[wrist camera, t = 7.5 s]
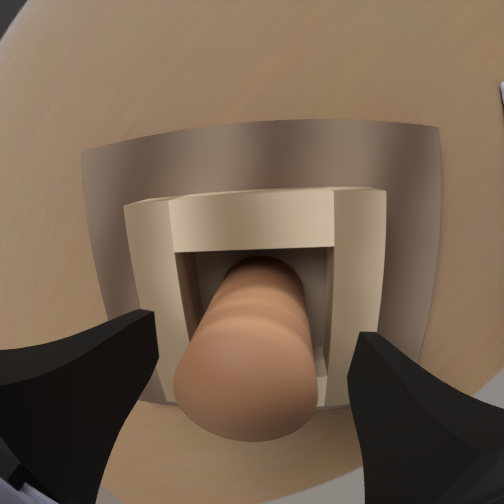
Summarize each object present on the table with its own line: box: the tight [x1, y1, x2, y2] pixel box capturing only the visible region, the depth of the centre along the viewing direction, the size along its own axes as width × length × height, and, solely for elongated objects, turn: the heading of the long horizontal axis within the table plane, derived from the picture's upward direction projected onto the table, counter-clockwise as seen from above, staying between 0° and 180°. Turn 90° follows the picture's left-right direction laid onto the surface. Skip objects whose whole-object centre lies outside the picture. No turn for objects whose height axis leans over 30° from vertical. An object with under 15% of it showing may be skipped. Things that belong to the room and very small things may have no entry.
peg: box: [173, 256, 318, 442], centre depth 11 cm, size 4×4×7 cm
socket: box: [81, 119, 442, 411], centre depth 13 cm, size 18×16×4 cm
